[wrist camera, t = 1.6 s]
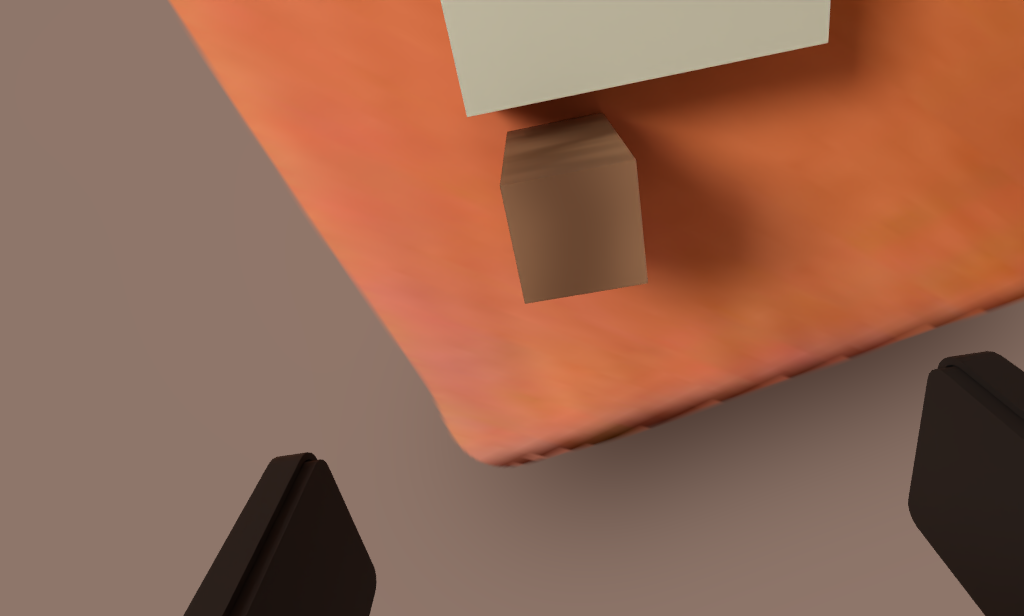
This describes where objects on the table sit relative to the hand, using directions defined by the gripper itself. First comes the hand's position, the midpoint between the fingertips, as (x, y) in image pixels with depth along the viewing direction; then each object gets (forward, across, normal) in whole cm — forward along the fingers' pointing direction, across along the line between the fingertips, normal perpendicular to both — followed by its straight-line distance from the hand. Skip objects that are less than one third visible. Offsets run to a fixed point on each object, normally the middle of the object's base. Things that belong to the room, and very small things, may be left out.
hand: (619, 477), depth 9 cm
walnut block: (+18, 0, -1) cm, 18 cm away
